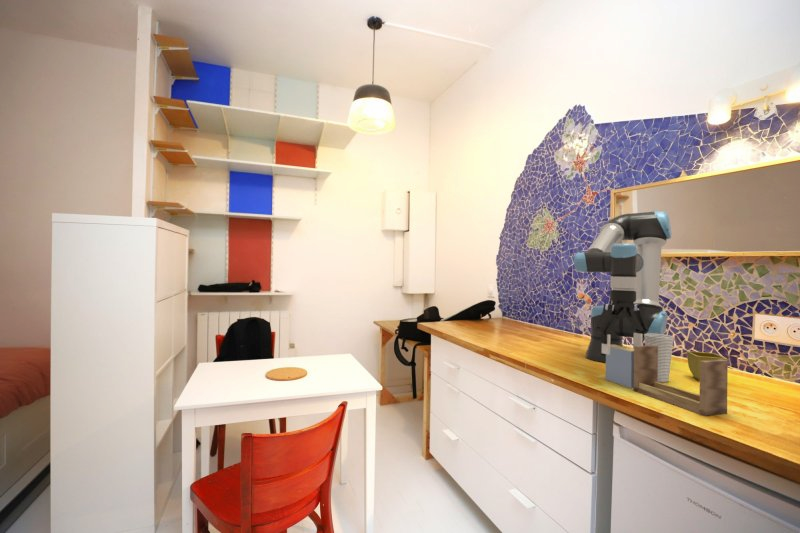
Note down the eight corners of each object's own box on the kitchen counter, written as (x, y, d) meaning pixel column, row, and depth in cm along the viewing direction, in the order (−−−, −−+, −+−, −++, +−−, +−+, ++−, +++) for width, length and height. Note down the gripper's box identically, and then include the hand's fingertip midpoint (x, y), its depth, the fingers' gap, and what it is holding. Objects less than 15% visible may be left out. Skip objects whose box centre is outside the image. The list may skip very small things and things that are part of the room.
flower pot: (715, 378, 132) (715, 352, 132) (727, 385, 124) (727, 358, 124) (685, 375, 135) (685, 350, 135) (695, 382, 127) (696, 355, 127)
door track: (652, 388, 119) (653, 344, 119) (727, 413, 99) (727, 360, 99) (633, 390, 117) (634, 346, 117) (705, 416, 96) (706, 362, 97)
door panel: (613, 378, 129) (613, 344, 129) (639, 387, 120) (639, 350, 120) (605, 379, 128) (605, 344, 128) (631, 388, 119) (631, 351, 119)
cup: (638, 376, 133) (638, 332, 133) (662, 376, 133) (662, 333, 133) (653, 383, 125) (654, 337, 125) (679, 384, 124) (679, 337, 124)
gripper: (641, 289, 132) (640, 349, 131) (584, 288, 124) (583, 352, 124) (661, 290, 124) (660, 354, 124) (602, 289, 117) (601, 356, 117)
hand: (622, 353), depth 124 cm, fingers open, 13 cm apart
